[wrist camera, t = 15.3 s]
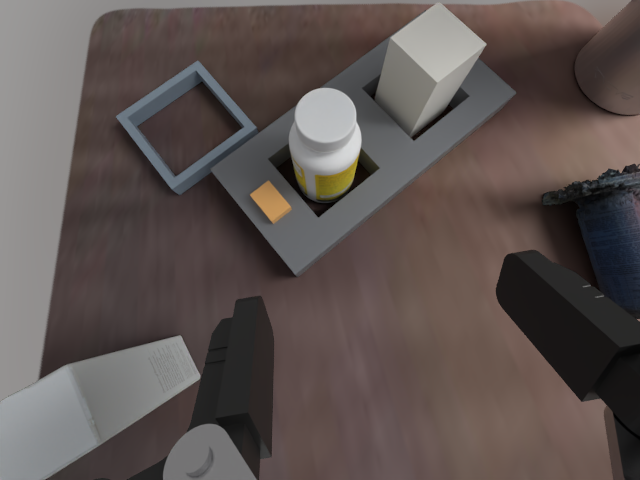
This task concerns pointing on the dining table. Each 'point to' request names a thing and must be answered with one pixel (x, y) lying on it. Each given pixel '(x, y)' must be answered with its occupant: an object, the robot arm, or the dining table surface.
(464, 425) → the dining table surface
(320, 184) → the supplement bottle
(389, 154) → the socket strip
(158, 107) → the blue-grey square frame
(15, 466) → the skincare box
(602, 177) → the dark piece
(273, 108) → the dining table surface
